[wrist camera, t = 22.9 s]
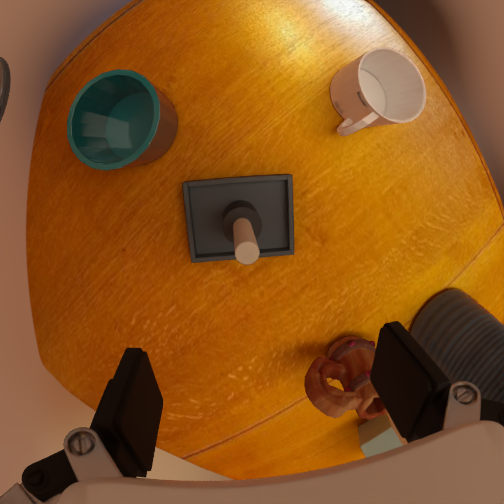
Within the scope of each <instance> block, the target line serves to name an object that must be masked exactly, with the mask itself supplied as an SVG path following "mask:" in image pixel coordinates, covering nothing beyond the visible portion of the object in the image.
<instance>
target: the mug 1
mask: <svg viewBox="0 0 504 504" xmlns="http://www.w3.org/2000/svg"><path fill="white" fill-rule="evenodd" d="M330 95H331V99H332V103H333V105H334V107H335V109H336V110H337V112H338V113H339V114H340V115H341V116H342V117H343V118H344V119H345V120H344V121H343V122H342V123H341V124H340V125H339V126H338V128H337V130H336V131H337V132H338V133H339V135H340V136H347V135H349V134H352V133H354V132H356V131H358V130H360V129H362V128H364V127H373V126H381V125H388V124H397V123H405V122H410V121H412V120H414V119H416V118H417V117H418V116H419V115H420V114H421V112H422V111H423V108H424V106H425V102H426V88H425V83H424V80H423V77H422V75H421V73H420V71H419V70H418V68H417V67H416V65H415V64H414V63H413V62H412V61H411V60H410V59H409V58H408V57H407V56H406V55H404V54H403V53H401V52H400V51H398V50H395V49H393V48H389V47H377V48H373V49H371V50H369V51H367V52H366V53H364V54H363V55H361V56H360V57H358V58H357V59H355V60H354V61H352V62H351V63H349V64H348V65H346V66H345V67H343V68H342V69H340V70H339V71H338V72H337V73H336V74H335V75H334V77H333V79H332V82H331V86H330Z"/></svg>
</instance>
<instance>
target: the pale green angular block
mask: <svg viewBox="0 0 504 504" xmlns="http://www.w3.org/2000/svg"><path fill="white" fill-rule="evenodd" d="M358 432H359V443H360V448H361V450H362V451H363V453H364V455H365V457H366V458H367V457H371V456H374V455H377V454H380V453H383V452H386V451H389V450H392V449H395V448H398V447H400V446H403V445H406V444H409V443H408V442H407V440H406V439H405V438H402V437H401V436H400V434H399V432H398V430H397V428H396V426H395V425H394V423H393V421H392V419H391V417H390V415H389V414H388V413H386V414H385V415H379V416H378V417H375V418H373V419H370V420H368V421H366V422H365V423H363V424H362V425H360V426H358Z"/></svg>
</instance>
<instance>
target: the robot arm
mask: <svg viewBox="0 0 504 504" xmlns="http://www.w3.org/2000/svg"><path fill="white" fill-rule="evenodd" d="M370 381H371V383H372V385H373V387H374V389H375V390H376V392H377V394H378V396H379V398H380V399H381V401H382V403H383V405H384V406H385V408H386V410H387V412H388V414H389V415H390V417H391V419H392V421H393V423H394V425H395V426H396V428H397V430H398V432H399V434H400V436H401V437H402V438H405V439H406V440H407V442H408V443H409V444H406V445H403V446H400V447H398V448H395V449H392V450H389V451H386V452H383V453H380V454H377V455H374V456H371V457H367V458H364V459H360V460H357V461H353V462H349V463H345V464H341V465H337V466H333V467H328V468H324V469H319V470H314V471H309V472H303V473H297V474H291V475H284V476H277V477H268V478H259V479H247V480H231V481H175V480H158V479H144V478H136V477H146V475H147V471H151V469H152V462H153V457H154V452H155V446H156V440H157V435H158V429H159V424H160V419H161V414H162V408H163V398H162V395H161V392H160V390H159V387H158V384H157V381H156V379H155V376H154V373H153V370H152V367H151V364H150V361H149V358H148V355H147V353H146V352H143V351H142V349H141V348H126V350H125V352H124V354H123V357H122V359H121V361H120V364H119V366H118V368H117V370H116V373H115V375H114V377H113V379H111V380H109V382H108V384H107V386H106V389H105V391H104V393H103V396H102V398H101V401H100V403H99V405H98V408H97V410H96V413H95V415H94V418H93V421H92V423H91V426H90V428H86V427H82V428H77V429H74V430H72V431H70V432H69V433H68V435H67V436H66V437H65V439H64V444H63V445H64V449H63V450H61V451H59V452H57V453H55V454H53V455H51V456H49V457H47V458H45V459H42V460H40V461H38V462H36V463H33V464H31V465H29V466H28V467H27V468H26V469H25V470H24V472H23V474H22V483H21V484H18V483H16V484H15V485H14V486H12V487H11V488H10V489H9V490H8V491H7V492H5V494H3V495H2V496H1V497H0V504H504V403H503V402H498V401H493V400H488V399H484V398H481V393H480V391H479V389H478V388H477V387H476V386H475V385H474V384H472V383H470V382H467V381H459V382H456V383H454V384H453V385H451V384H450V383H449V381H450V380H449V379H448V377H447V376H446V375H445V374H444V373H443V371H442V370H441V369H440V368H439V367H438V366H437V364H436V363H435V362H434V361H433V360H432V358H431V357H430V356H429V355H428V354H427V353H426V352H425V350H424V349H423V348H422V347H421V346H420V345H419V344H418V342H417V341H416V340H415V339H414V338H413V337H412V336H411V335H410V333H409V332H408V331H407V330H406V329H405V328H404V327H403V326H402V325H401V323H400V322H398V321H394V322H390V323H385V324H384V326H383V327H382V328H381V329H380V333H379V338H378V342H377V347H376V352H375V356H374V360H373V365H372V369H371V373H370ZM418 439H419V440H418ZM416 440H417V441H416ZM413 441H414V442H413Z"/></svg>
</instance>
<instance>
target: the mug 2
mask: <svg viewBox="0 0 504 504" xmlns="http://www.w3.org/2000/svg"><path fill="white" fill-rule="evenodd" d="M374 347H375V342H374V341H367V340H365V339H361V338H359V337H356V336H347V337H344V338H342V339H340V340H339V341H337V342H336V343H334V344H333V345H332V346H331V347H330V349H329V350H328V353H327V357H324V356H320V357H318V358H317V359H316V360H314V361H313V363H312V364H311V366H310V367H309V369H308V372H307V374H306V376H305V391H306V394H307V396H308V398H309V400H310V401H311V402H312V404H313V405H314V406H315V407H316V408H317V409H319V410H320V411H321V412H323V413H324V414H325V415H327V416H330V417H333V418H337V417H340V416H341V415H342V414H344V413H345V412H346V411H347V410H353V409H355V410H356V412H357V414H358V416H359V417H361V418H366V419H368V420H369V419H373V418H375V417H378V416H379V415H385V414H386V413H388V412H387V410H386V408H385V406H384V405H383V403H382V401H381V399H380V398H379V396H378V394H377V392H376V390H375V389H374V387H373V385H372V383H371V381H370V373H371V369H372V365H373V360H374V356H375V352H376V350H375V348H374ZM326 378H332V379H337V380H340V382H341V384H342V386H343V388H344V391H342V390H340V389H338V388H335V387H333V386H330V385H328V384H327V380H326Z"/></svg>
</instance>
